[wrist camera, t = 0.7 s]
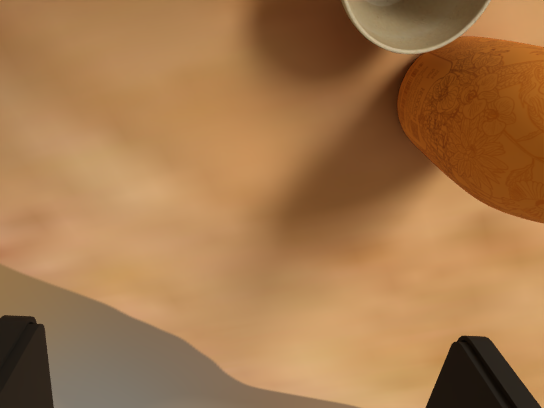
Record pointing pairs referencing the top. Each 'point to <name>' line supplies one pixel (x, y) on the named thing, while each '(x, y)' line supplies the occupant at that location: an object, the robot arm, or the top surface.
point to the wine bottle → (481, 119)
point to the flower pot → (413, 22)
